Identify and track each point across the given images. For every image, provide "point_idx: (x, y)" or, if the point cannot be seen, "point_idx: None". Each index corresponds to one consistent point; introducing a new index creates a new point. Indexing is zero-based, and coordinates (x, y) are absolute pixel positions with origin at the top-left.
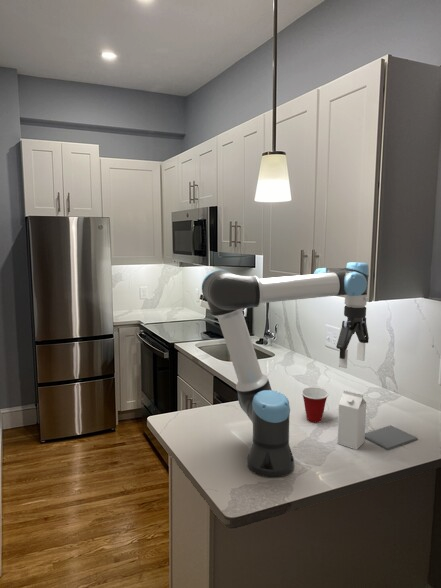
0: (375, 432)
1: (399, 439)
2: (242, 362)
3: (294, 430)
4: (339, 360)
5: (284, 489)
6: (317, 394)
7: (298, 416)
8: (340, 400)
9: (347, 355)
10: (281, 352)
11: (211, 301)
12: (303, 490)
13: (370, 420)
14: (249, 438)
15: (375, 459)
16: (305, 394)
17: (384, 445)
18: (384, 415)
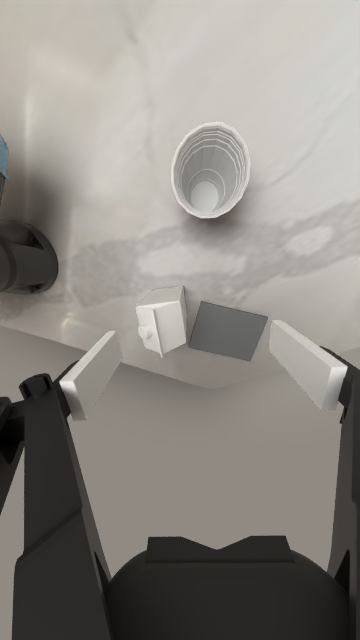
0: (224, 313)
1: (226, 347)
2: None
3: (136, 202)
4: (96, 345)
5: (10, 309)
6: (237, 166)
7: None
8: (140, 307)
9: (100, 394)
10: None
11: None
12: (29, 325)
13: (273, 280)
14: (43, 160)
15: None
16: (208, 141)
17: (193, 341)
18: (312, 286)
